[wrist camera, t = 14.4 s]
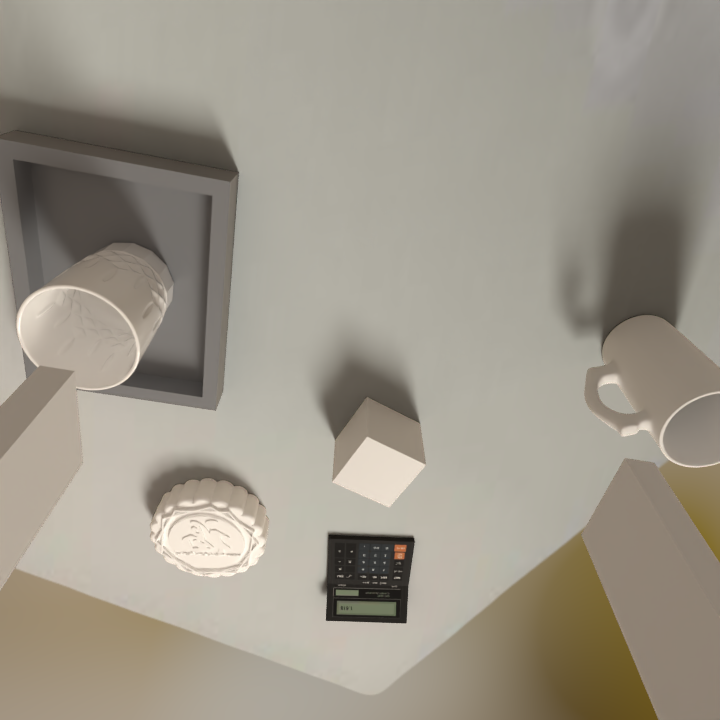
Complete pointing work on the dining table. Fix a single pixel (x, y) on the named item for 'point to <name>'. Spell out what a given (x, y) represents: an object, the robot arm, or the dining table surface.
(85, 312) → the white cup
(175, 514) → the mooncake
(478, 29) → the dining table surface
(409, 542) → the calculator
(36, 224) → the tray
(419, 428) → the white cube
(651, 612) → the robot arm
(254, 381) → the dining table surface
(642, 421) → the mug
